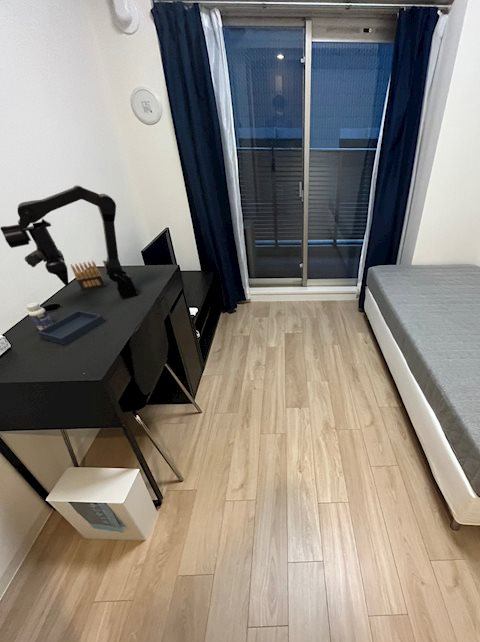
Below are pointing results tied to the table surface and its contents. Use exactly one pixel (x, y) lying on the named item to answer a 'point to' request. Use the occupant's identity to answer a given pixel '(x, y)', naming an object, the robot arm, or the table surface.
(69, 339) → the tray
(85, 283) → the ammunition clip
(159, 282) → the table surface
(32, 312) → the pill bottle
